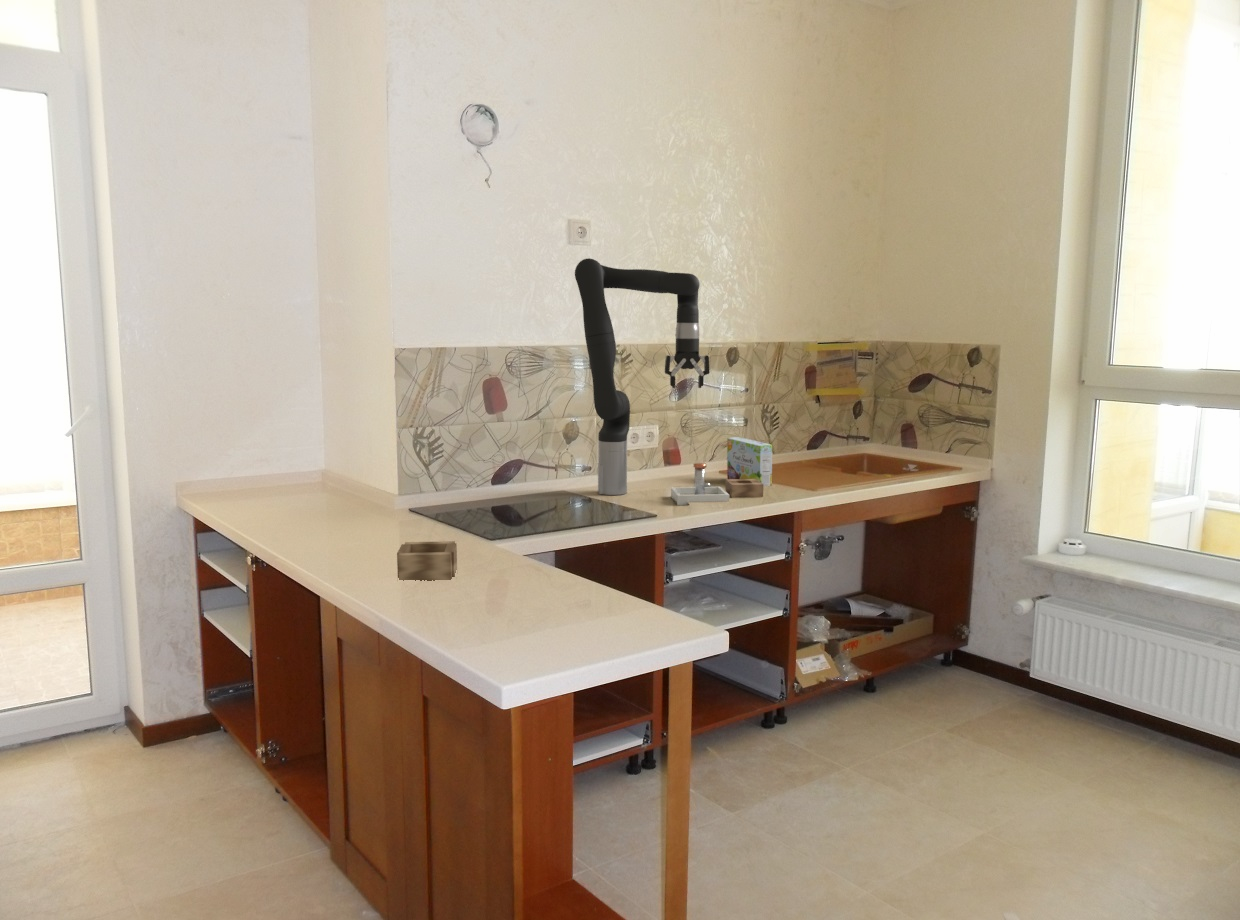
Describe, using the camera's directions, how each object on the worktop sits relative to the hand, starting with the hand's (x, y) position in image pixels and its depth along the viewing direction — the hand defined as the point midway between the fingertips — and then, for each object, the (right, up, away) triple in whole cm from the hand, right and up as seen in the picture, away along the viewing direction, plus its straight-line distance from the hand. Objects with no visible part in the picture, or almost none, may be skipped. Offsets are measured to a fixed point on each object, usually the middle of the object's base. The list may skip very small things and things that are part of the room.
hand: (686, 387), depth 310 cm
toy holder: (-64, -49, -99) cm, 128 cm away
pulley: (+6, -34, +1) cm, 35 cm away
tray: (+3, -36, -9) cm, 37 cm away
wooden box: (+18, -35, -4) cm, 40 cm away
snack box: (+23, -32, +20) cm, 44 cm away
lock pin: (+3, -35, -10) cm, 37 cm away
